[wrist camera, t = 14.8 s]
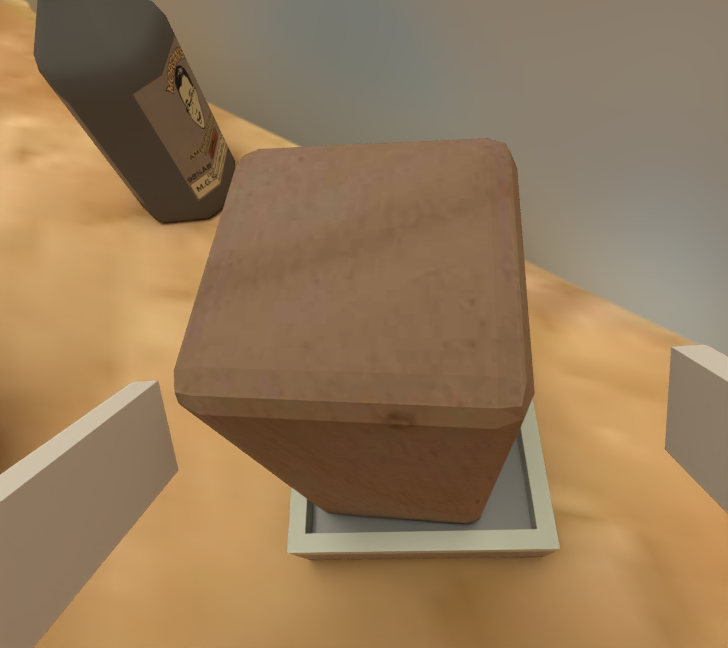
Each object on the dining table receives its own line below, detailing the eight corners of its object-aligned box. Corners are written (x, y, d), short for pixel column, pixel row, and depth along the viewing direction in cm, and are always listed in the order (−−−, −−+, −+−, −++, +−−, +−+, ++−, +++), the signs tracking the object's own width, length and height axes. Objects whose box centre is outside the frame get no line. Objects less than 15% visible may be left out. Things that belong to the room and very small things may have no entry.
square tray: (309, 559, 33) (287, 552, 28) (319, 356, 40) (302, 324, 35) (542, 556, 31) (559, 548, 26) (507, 344, 38) (516, 308, 33)
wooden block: (483, 528, 28) (544, 418, 11) (316, 514, 30) (147, 400, 13) (479, 370, 33) (519, 123, 16) (336, 366, 35) (232, 138, 18)
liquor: (143, 227, 50) (-175, -168, 24) (162, 164, 55) (-91, -227, 29) (229, 219, 49) (-10, -205, 23) (240, 155, 54) (50, -260, 28)
